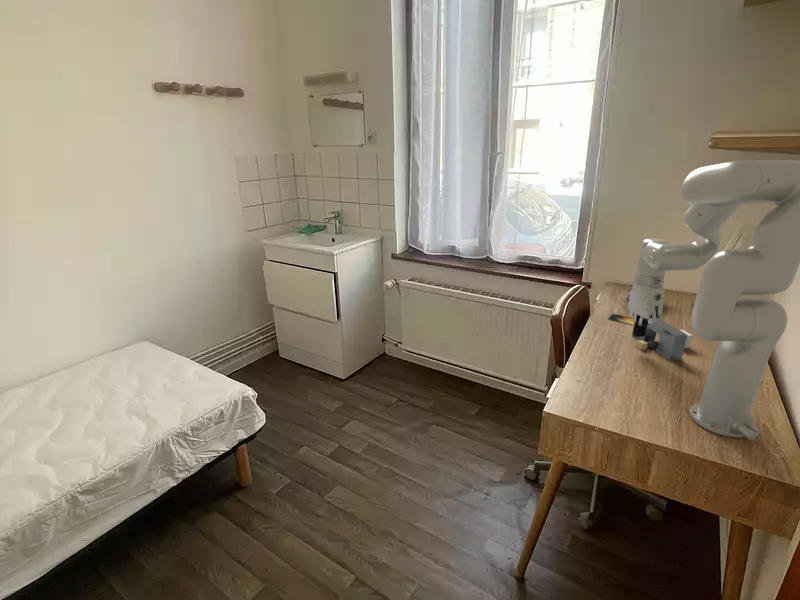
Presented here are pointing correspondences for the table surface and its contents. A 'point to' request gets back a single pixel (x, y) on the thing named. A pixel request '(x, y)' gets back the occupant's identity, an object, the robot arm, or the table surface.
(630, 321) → the smartphone
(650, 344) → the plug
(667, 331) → the block
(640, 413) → the table surface
